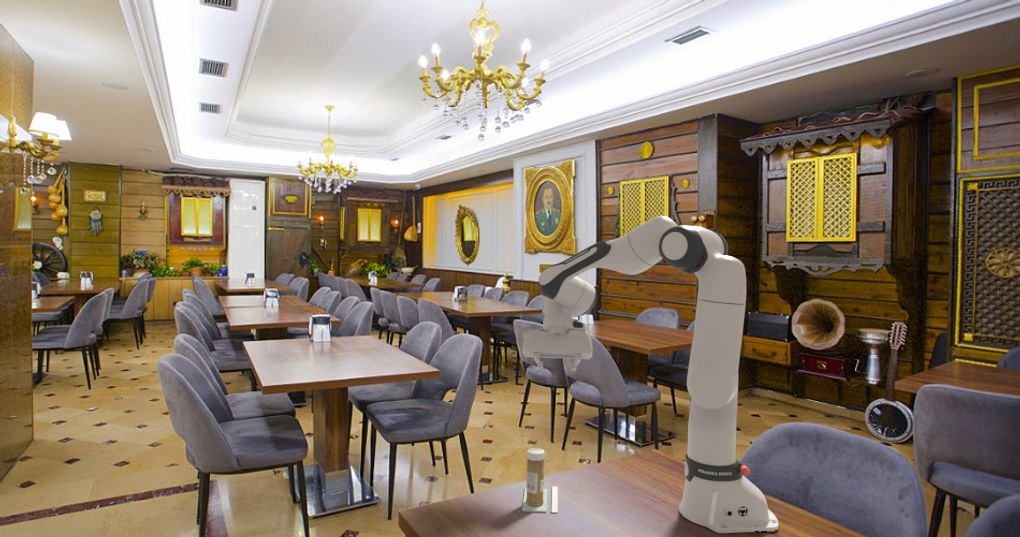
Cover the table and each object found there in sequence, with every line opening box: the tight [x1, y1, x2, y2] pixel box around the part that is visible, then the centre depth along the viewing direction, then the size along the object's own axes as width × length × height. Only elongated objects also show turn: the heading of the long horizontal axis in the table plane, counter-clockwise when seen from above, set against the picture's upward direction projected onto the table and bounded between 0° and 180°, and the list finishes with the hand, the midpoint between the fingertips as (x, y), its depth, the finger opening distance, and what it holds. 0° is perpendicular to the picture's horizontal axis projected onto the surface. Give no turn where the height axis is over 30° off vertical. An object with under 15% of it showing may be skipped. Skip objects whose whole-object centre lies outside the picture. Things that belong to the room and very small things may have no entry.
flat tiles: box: [521, 485, 559, 514], centre depth 143 cm, size 9×15×1 cm, turn 175°
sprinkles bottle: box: [526, 447, 546, 506], centre depth 140 cm, size 5×5×14 cm
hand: (557, 368), depth 156 cm, fingers open, 8 cm apart
